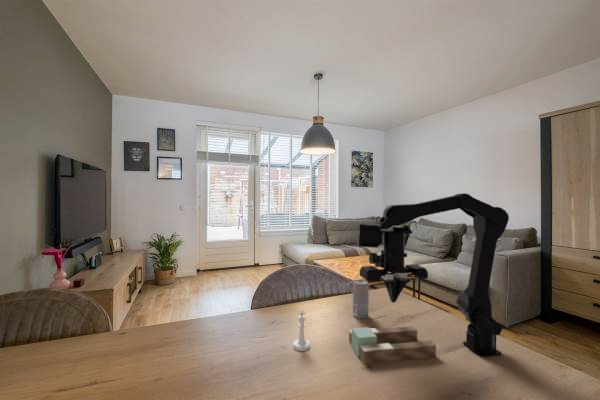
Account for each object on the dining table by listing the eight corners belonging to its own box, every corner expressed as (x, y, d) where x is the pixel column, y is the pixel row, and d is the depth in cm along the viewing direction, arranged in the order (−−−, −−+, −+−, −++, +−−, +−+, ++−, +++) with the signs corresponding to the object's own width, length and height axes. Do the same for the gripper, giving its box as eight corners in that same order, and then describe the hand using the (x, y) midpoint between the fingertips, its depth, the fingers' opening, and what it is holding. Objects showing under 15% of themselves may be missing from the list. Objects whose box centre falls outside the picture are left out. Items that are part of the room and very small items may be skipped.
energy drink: (367, 312, 96) (367, 279, 96) (369, 319, 91) (369, 284, 91) (352, 312, 97) (352, 279, 97) (353, 318, 92) (354, 283, 92)
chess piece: (308, 352, 71) (309, 314, 71) (290, 349, 72) (291, 313, 72) (311, 342, 76) (312, 307, 76) (294, 340, 77) (295, 305, 77)
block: (368, 345, 75) (368, 327, 75) (376, 355, 70) (376, 336, 70) (351, 346, 74) (351, 328, 74) (358, 357, 69) (358, 337, 69)
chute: (412, 336, 80) (412, 325, 80) (435, 356, 70) (436, 344, 70) (349, 341, 77) (349, 330, 77) (363, 363, 66) (364, 350, 66)
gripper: (407, 243, 87) (406, 290, 87) (353, 244, 83) (352, 293, 83) (429, 249, 76) (428, 304, 76) (368, 251, 72) (367, 308, 72)
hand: (393, 301), depth 77 cm, fingers closed
